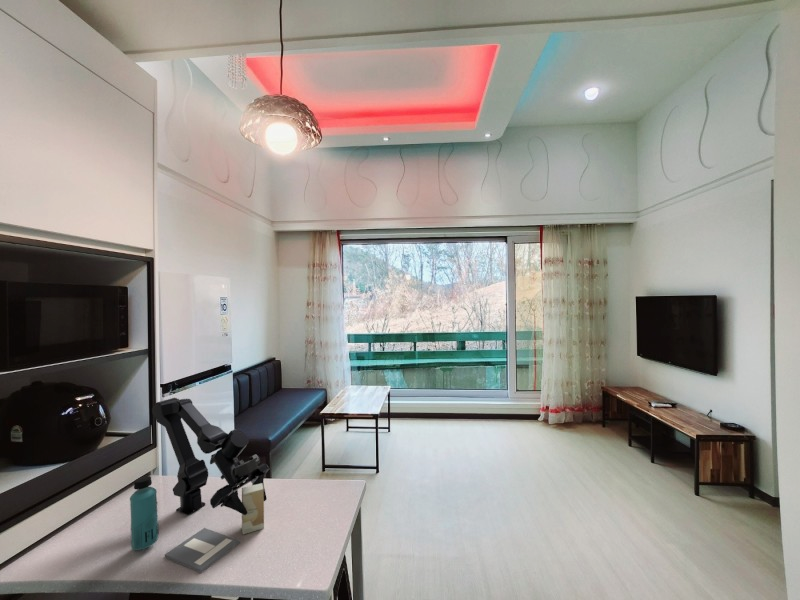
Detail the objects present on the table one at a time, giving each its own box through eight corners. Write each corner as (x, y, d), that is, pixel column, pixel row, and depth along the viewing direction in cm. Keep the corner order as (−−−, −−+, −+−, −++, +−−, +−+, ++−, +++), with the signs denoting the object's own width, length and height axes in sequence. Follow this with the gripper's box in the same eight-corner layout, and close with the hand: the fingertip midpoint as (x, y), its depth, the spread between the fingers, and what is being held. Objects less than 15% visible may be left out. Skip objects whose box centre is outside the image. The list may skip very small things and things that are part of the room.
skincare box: (242, 535, 103) (241, 494, 103) (241, 527, 107) (240, 487, 107) (265, 528, 106) (264, 488, 106) (263, 520, 110) (262, 482, 110)
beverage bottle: (144, 557, 96) (141, 485, 96) (124, 554, 97) (122, 483, 97) (164, 541, 102) (162, 473, 102) (146, 538, 103) (143, 472, 103)
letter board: (164, 557, 95) (164, 554, 95) (204, 530, 106) (204, 527, 106) (201, 572, 89) (201, 569, 89) (239, 542, 100) (239, 539, 100)
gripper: (215, 463, 100) (244, 509, 95) (264, 439, 117) (291, 477, 112) (197, 485, 103) (225, 531, 98) (248, 458, 120) (273, 496, 116)
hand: (256, 507), depth 106 cm, fingers closed on skincare box, 7 cm apart
